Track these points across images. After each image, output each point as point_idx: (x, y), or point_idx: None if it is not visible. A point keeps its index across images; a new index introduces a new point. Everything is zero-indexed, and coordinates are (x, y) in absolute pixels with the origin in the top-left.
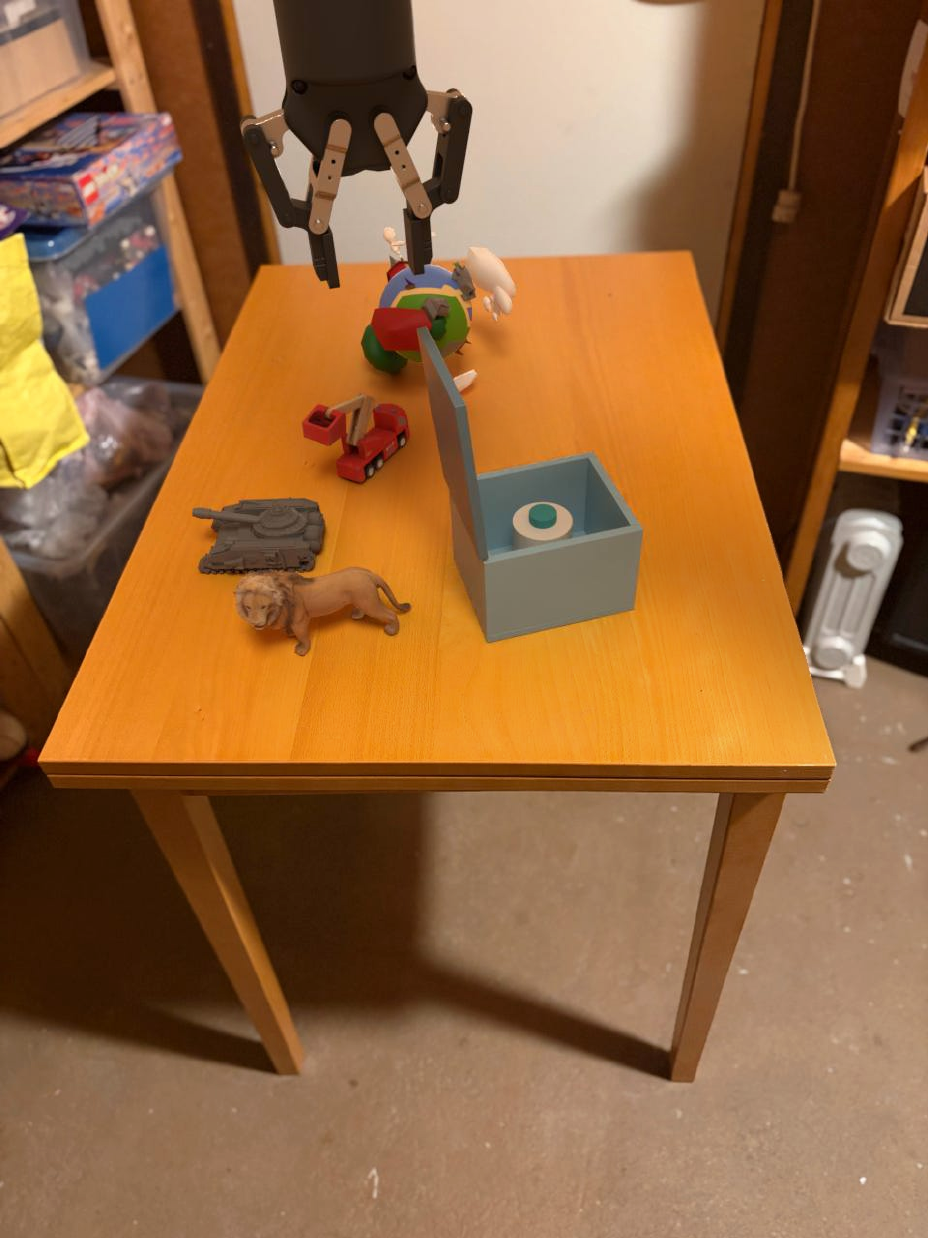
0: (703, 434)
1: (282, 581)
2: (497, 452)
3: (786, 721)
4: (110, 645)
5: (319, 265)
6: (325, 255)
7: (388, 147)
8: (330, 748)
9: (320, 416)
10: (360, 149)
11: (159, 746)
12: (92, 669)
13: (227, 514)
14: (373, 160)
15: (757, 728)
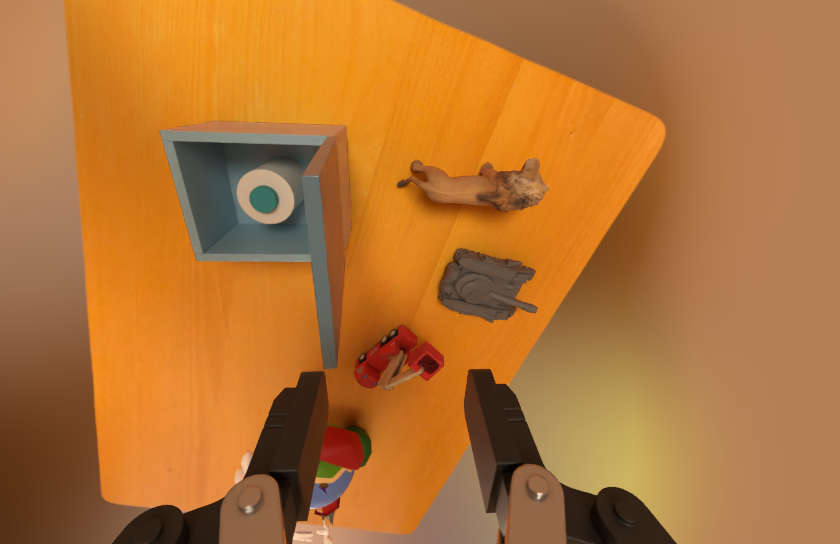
0: (113, 307)
1: (506, 191)
2: (292, 330)
3: None
4: (608, 219)
5: (511, 409)
6: (507, 419)
7: None
8: (494, 53)
9: (427, 369)
10: None
11: (608, 105)
12: (625, 200)
13: (512, 301)
14: None
15: None
